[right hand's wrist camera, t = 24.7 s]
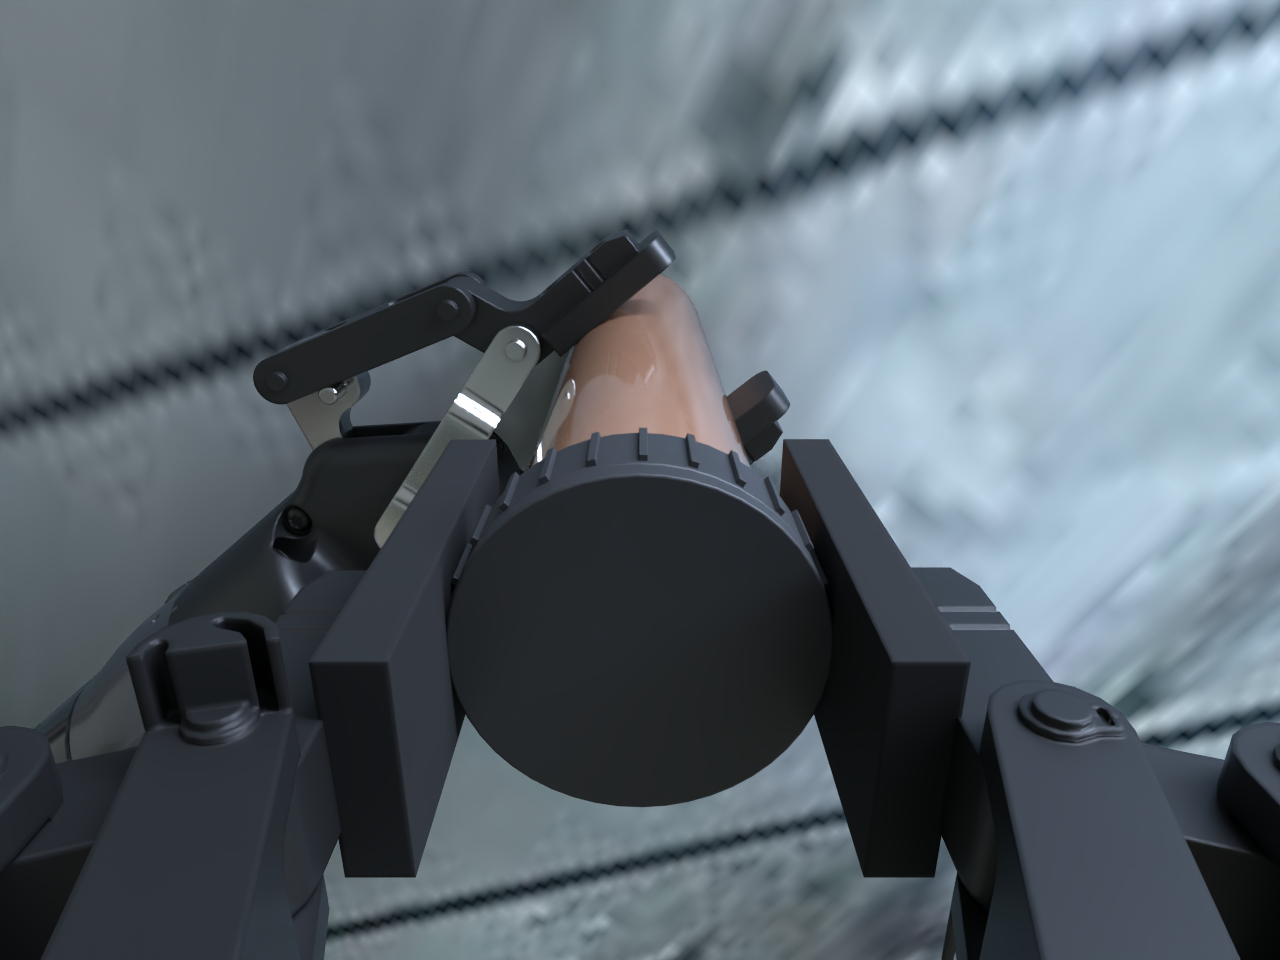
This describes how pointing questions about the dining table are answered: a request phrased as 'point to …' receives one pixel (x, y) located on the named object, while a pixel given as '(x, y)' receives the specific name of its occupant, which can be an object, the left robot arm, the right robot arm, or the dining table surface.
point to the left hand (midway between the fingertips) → (720, 318)
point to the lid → (639, 621)
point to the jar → (642, 378)
